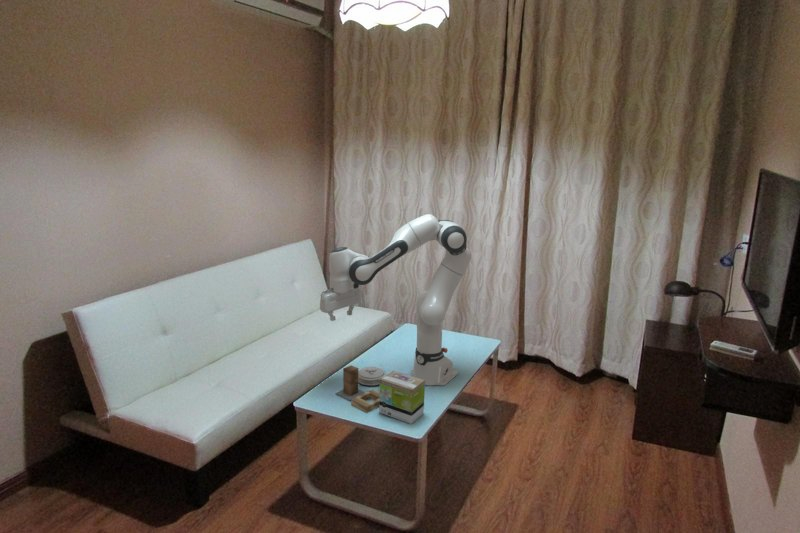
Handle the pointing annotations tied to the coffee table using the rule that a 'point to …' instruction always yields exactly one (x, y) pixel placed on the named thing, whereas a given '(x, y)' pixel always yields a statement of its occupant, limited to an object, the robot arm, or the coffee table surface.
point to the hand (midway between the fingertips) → (341, 317)
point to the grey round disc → (370, 375)
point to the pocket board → (363, 404)
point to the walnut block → (350, 380)
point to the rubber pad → (348, 395)
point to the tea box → (402, 396)
